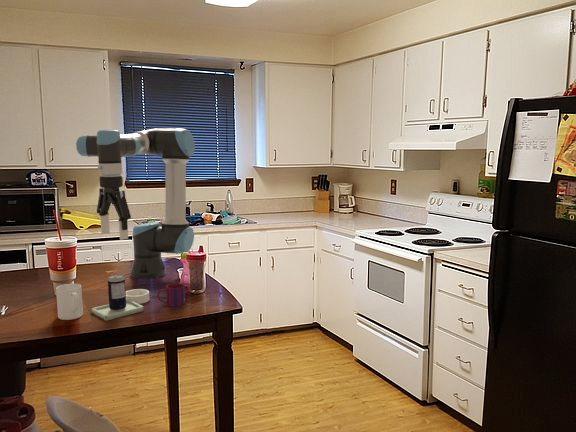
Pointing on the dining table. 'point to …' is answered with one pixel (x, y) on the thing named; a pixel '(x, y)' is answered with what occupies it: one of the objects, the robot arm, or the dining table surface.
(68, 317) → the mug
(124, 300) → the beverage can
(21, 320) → the dining table surface
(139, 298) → the white round dish
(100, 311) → the tray
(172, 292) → the cup
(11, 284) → the dining table surface
